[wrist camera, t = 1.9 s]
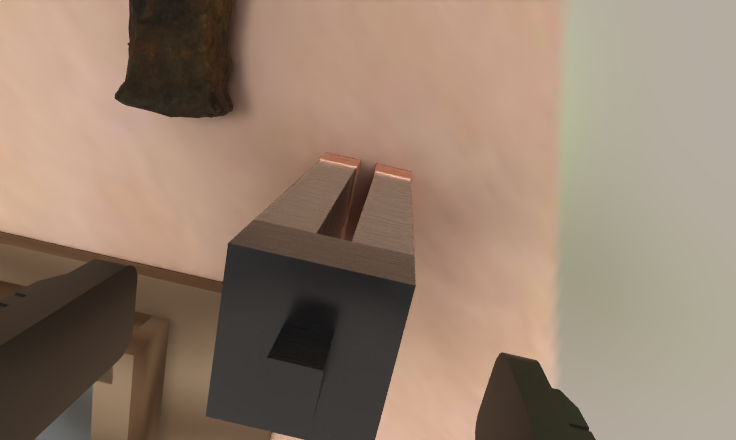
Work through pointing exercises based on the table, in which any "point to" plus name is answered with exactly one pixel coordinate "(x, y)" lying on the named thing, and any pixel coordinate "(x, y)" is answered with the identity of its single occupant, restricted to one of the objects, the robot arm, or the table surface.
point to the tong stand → (139, 353)
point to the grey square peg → (316, 307)
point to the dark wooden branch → (178, 58)
